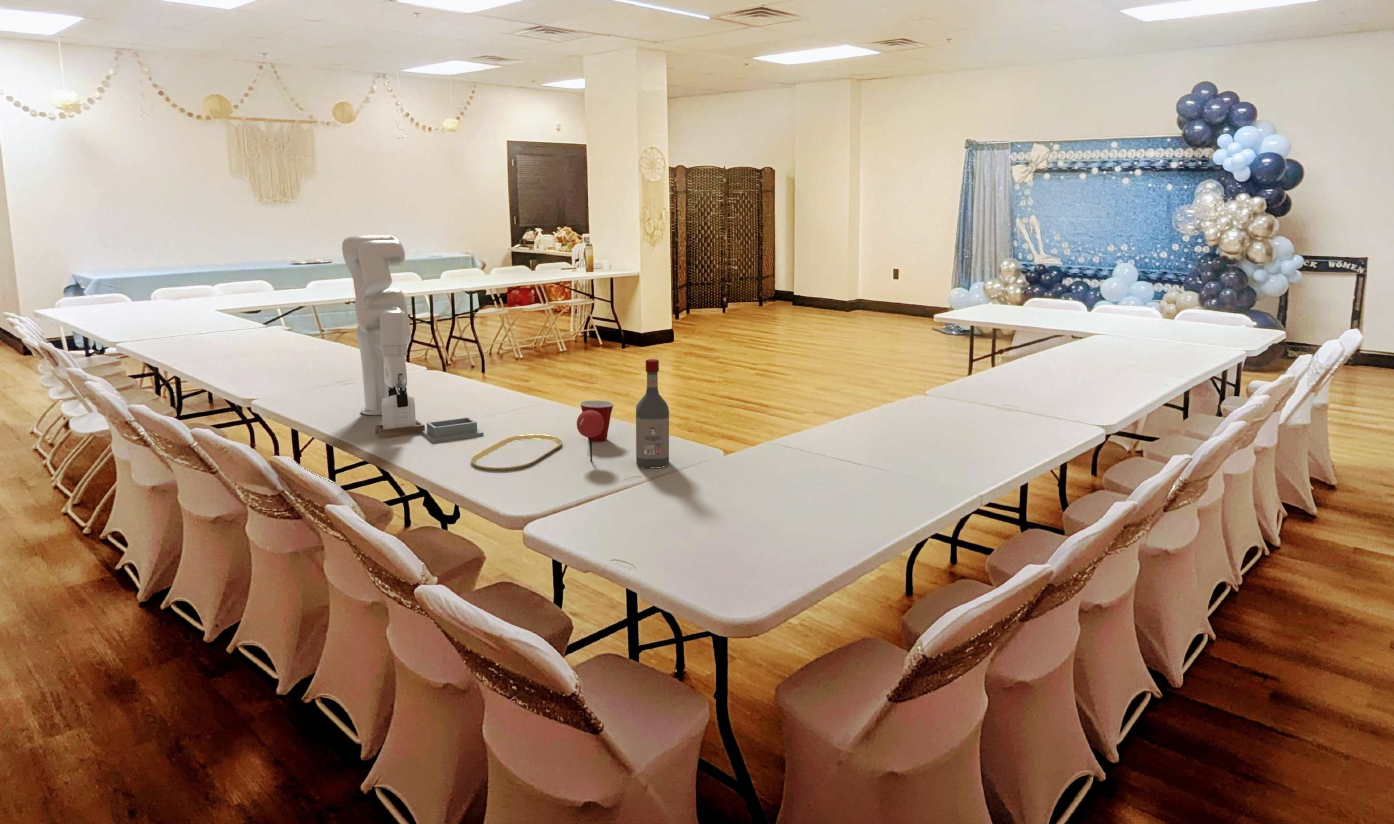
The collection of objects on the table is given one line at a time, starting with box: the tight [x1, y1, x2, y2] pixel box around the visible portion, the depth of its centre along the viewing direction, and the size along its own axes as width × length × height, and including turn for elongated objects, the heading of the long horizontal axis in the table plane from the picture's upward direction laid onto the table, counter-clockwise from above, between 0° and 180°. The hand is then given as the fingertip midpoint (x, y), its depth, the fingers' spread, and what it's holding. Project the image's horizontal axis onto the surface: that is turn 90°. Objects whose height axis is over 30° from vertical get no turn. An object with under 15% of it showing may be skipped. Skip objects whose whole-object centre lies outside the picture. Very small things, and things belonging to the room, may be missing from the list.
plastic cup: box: [578, 399, 615, 443], centre depth 281 cm, size 11×11×12 cm
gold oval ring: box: [470, 434, 563, 472], centre depth 267 cm, size 19×35×2 cm, turn 163°
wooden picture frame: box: [374, 419, 426, 439], centre depth 287 cm, size 8×14×2 cm, turn 122°
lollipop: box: [576, 410, 604, 462], centre depth 258 cm, size 8×8×15 cm
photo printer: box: [381, 394, 417, 430], centre depth 286 cm, size 10×4×12 cm, turn 123°
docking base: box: [421, 416, 484, 444], centre depth 285 cm, size 12×16×4 cm
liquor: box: [635, 358, 670, 469], centre depth 254 cm, size 9×9×30 cm
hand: (398, 404), depth 284 cm, fingers open, 9 cm apart
